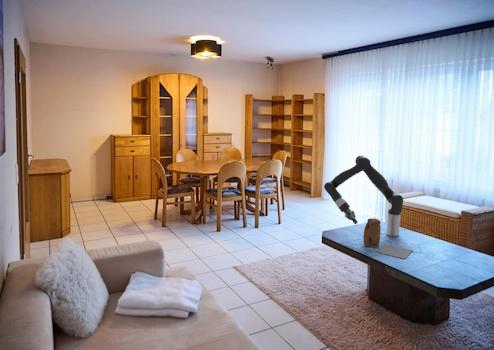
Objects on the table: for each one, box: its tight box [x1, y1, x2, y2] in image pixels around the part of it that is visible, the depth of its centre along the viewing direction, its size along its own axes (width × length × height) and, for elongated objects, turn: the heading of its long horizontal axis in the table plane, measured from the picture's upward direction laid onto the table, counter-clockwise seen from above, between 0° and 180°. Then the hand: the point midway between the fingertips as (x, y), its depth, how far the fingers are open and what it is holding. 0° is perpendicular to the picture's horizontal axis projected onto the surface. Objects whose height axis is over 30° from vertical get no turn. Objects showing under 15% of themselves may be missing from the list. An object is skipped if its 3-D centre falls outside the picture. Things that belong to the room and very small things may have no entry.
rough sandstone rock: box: [363, 218, 382, 248], centre depth 294 cm, size 11×8×20 cm
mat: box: [374, 243, 414, 260], centre depth 285 cm, size 20×20×1 cm
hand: (356, 223), depth 300 cm, fingers closed
